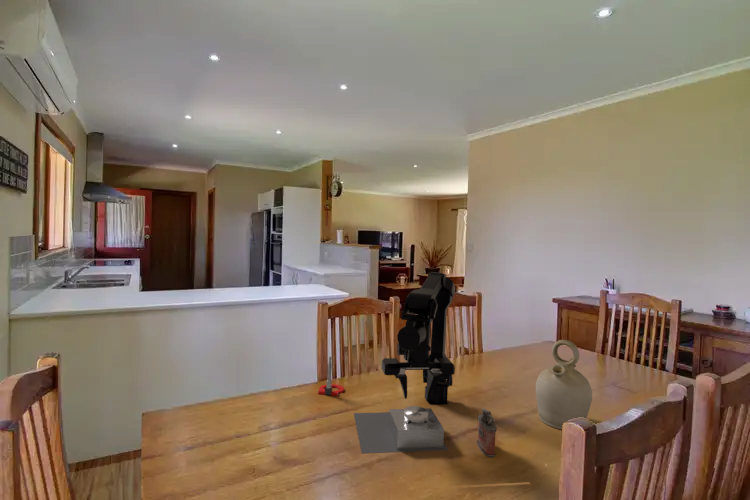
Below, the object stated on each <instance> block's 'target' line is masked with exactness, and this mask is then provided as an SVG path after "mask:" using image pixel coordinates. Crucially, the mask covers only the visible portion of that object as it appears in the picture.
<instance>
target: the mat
mask: <svg viewBox="0 0 750 500" xmlns="http://www.w3.org/2000/svg"><path fill="white" fill-rule="evenodd" d="M353 417H354V422H355V427H356V431H357V436H358V437H357V438H358V442H359V446H360V447H359V448H360V451H361V452H360V453H361V454H384V453H385V454H386V453H387V454H388V453H406V452H407V453H408V452H409V453H411V452H412V453H413V452H432V451H434V452H435V451H438V452H440V451H449V449H448V447H447V445H446V444H445V442H444V441H443V448H431V449H404V450H397V448H396V446H395V443H394V440H393V437H392V435H391V432H390V429H389V411H388V412H387V411H385V412H354V413H353Z"/></svg>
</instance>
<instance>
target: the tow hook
mask: <svg viewBox="0 0 750 500" xmlns="http://www.w3.org/2000/svg"><path fill="white" fill-rule="evenodd" d="M332 365H333V363H332V356H329V357H328V364H327V377H326V378H327V379H326V384H322V385H321V386H319V387H318V388H319V389H318V395H323V396H324V395H325V396H332V397H338V396H339V394H342V393H344V391H345V387H344V386H343V385H340V384H335V383H332V368H333V366H332ZM333 388H334V389H336V390H333Z"/></svg>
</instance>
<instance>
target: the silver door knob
mask: <svg viewBox="0 0 750 500" xmlns="http://www.w3.org/2000/svg"><path fill="white" fill-rule="evenodd" d="M425 408H426V407H425ZM425 408H424V407H422V406H417V405H410V406H407V407H405V408H403V409H404V420H405V421H406V422H408V423H411V424H424V423H426V422H427V421H428V411H427V410H426V409H425Z"/></svg>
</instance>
